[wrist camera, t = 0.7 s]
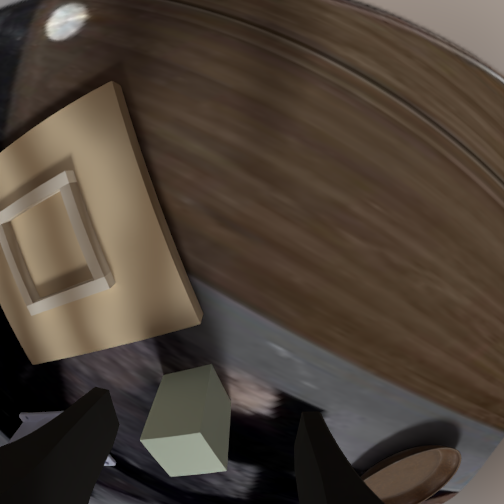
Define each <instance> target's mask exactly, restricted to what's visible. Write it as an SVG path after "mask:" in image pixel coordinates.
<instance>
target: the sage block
mask: <svg viewBox="0 0 504 504" xmlns="http://www.w3.org/2000/svg"><path fill="white" fill-rule="evenodd" d="M230 413H231V401H230V399H229V397H228V395H227V393H226V391H225V389H224V387H223V385H222V383H221V381H220V379H219V377H218V375H217V373H216V371H215V369H214V367H213V365H212V364H209V365H205V366H201V367H197V368H193V369H188V370H184V371H180V372H175V373H170V374H166V375H163V378H162V381H161V383H160V386H159V389H158V391H157V394H156V397H155V399H154V402H153V405H152V407H151V410H150V413H149V416H148V418H147V421H146V424H145V427H144V429H143V432H142V435H141V438H140V441H141V442H142V443H143V445H144V446H145V447H146V448H147V450H148V451H149V452H150V453H151V454H152V456H153V457H154V458H155V459H156V460H157V462H158V463H159V464H160V465H161V466H162V467H163V469H164V470H165V471H166V472H167V473H168V474H169V475H170V476H185V475H196V474H205V473H213V472H221V471H227V460H228V444H229V428H230Z"/></svg>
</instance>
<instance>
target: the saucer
mask: <svg viewBox="0 0 504 504" xmlns="http://www.w3.org/2000/svg"><path fill="white" fill-rule="evenodd" d="M460 463H461V454H460V452H459V451H458V450H456V449H454V448H450V447H447V446H440V445H427V446H419V447H414V448H410V449H407V450H404V451H401V452H398V453H396V454H394V455H392V456H390V457H388V458H386V459H384V460H382V461H380V462H379V463H377V464H376V465H374V466H373V467H371V468H370V469H369V470H367V471H366V472H365V473H364V474H363V475H362V476H361V479H362V480H363V481H364V482H365V483H366V484H367V486H368V487H369V488H370V489H371V490H372V491H373V492H374V493H375V494H376V495H377V496H378V497H379V498H380V499H381V500H382V501H383V502H384V503H385V504H419V503H421V502H423V501H424V500H426V499H428V498H429V497H431V496H432V495H433V494H435V493H436V492H437V491H439V490H440V489H441V488H442V487H443V486H445V485H446V484H447V483H448V482H449V481H450V479H451V478H452V477H453V476H454V474H455V473H456V472H457V470H458V468H459V466H460Z"/></svg>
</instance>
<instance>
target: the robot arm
mask: <svg viewBox="0 0 504 504" xmlns="http://www.w3.org/2000/svg"><path fill="white" fill-rule="evenodd" d="M19 417H20V418H21V420H22V421H23V423H22V425H21V426H20V427H19V429H18V430H17V431H16V433H15V434H14V436H13V437H12V438H11V440H10V441H9V443H8V444H6V445H4V446H1V447H0V504H88V503H89V499H90V496H91V493H92V490H93V488H94V485H95V483H96V481H97V479H98V477H99V475H100V472H101V470H102V468H103V466H114V465H115V464H116V461H115V460H114V459H113V458H112V457H111V455H110V454H109V453H110V451H111V449H112V447H113V444H114V441H115V438H116V434H117V431H118V428H119V422H118V419H117V416H116V412H115V409H114V406H113V403H112V399H111V396H110V393H109V390H106V389H102V388H98V387H95V388H93V389H92V390H91V391H89V392H88V393H87V394H85V395H84V396H83V397H82V398H80V399H79V400H78V401H76V402H75V403H74V404H73V405H71V406H70V407H69V408H67V409H66V410H65V411H54V412H34V413H20V414H19ZM294 459H295V475H296V482H297V489H298V496H299V504H385V503H384V502H383V501H382V500H381V499H380V498H379V497H378V496H377V495H376V494H375V493H374V492H373V491H372V490H371V489H370V488H369V487H368V486H367V484H366V483H365V482H364V481H363V480H362V479H361V477H360V476H359V475H358V474H357V472H356V471H355V470H354V468H353V467H352V466H351V464H350V463H349V461H348V460H347V458H346V457H345V455H344V454H343V452H342V451H341V449H340V448H339V446H338V444H337V443H336V441H335V439H334V438H333V436H332V434H331V432H330V431H329V429H328V427H327V425H326V423H325V421H324V419H323V417H322V414H321V413H320V412H302V414H301V419H300V423H299V428H298V432H297V436H296V440H295V444H294Z"/></svg>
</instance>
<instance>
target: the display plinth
mask: <svg viewBox="0 0 504 504" xmlns="http://www.w3.org/2000/svg"><path fill="white" fill-rule="evenodd" d="M0 304H1V307H2V309H3V311H4V313H5V315H6V317H7V319H8V321H9V323H10V325H11V327H12V329H13V331H14V333H15V335H16V337H17V338H18V340H19V342H20V344H21V346H22V348H23V349H24V351H25V353H26V355H27V356H28V358H29V360H30V361H31V363H32V365H35V364H40V363H45V362H49V361H54V360H59V359H64V358H68V357H73V356H77V355H82V354H86V353H90V352H95V351H99V350H103V349H107V348H112V347H116V346H120V345H124V344H128V343H132V342H136V341H140V340H144V339H147V338H151V337H155V336H159V335H163V334H166V333H170V332H174V331H177V330H181V329H185V328H188V327H192V326H196V325H199V324H201V320H202V317H203V312H202V309H201V307H200V305H199V302H198V300H197V298H196V295H195V293H194V290H193V288H192V286H191V283H190V281H189V278H188V276H187V274H186V271H185V269H184V266H183V264H182V261H181V259H180V256H179V254H178V251H177V249H176V246H175V243H174V241H173V238H172V236H171V233H170V231H169V228H168V225H167V223H166V220H165V217H164V215H163V212H162V209H161V206H160V204H159V201H158V198H157V195H156V193H155V190H154V187H153V184H152V181H151V179H150V176H149V173H148V170H147V167H146V164H145V161H144V158H143V155H142V152H141V149H140V146H139V143H138V140H137V137H136V134H135V131H134V127H133V124H132V121H131V118H130V115H129V111H128V108H127V105H126V101H125V98H124V95H123V91H122V88H121V86H120V85H118V84H117V83H115V82H113V81H110V82H108V83H106V84H105V85H103V86H101V87H99V88H97V89H95V90H93V91H92V92H90V93H88V94H86V95H84V96H83V97H81V98H79V99H78V100H76V101H74V102H73V103H71V104H69V105H68V106H66V107H64V108H63V109H61V110H60V111H58V112H56V113H55V114H53V115H52V116H50V117H49V118H47V119H46V120H44V121H43V122H41V123H40V124H38V125H37V126H35V127H34V128H32V129H31V130H30V131H28V132H27V133H25V134H24V135H23V136H21V137H20V138H19V139H17V140H16V141H15V142H13V143H12V144H11V145H9V146H8V147H7V148H6V149H4V150H3V151H2V152H1V153H0Z"/></svg>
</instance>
